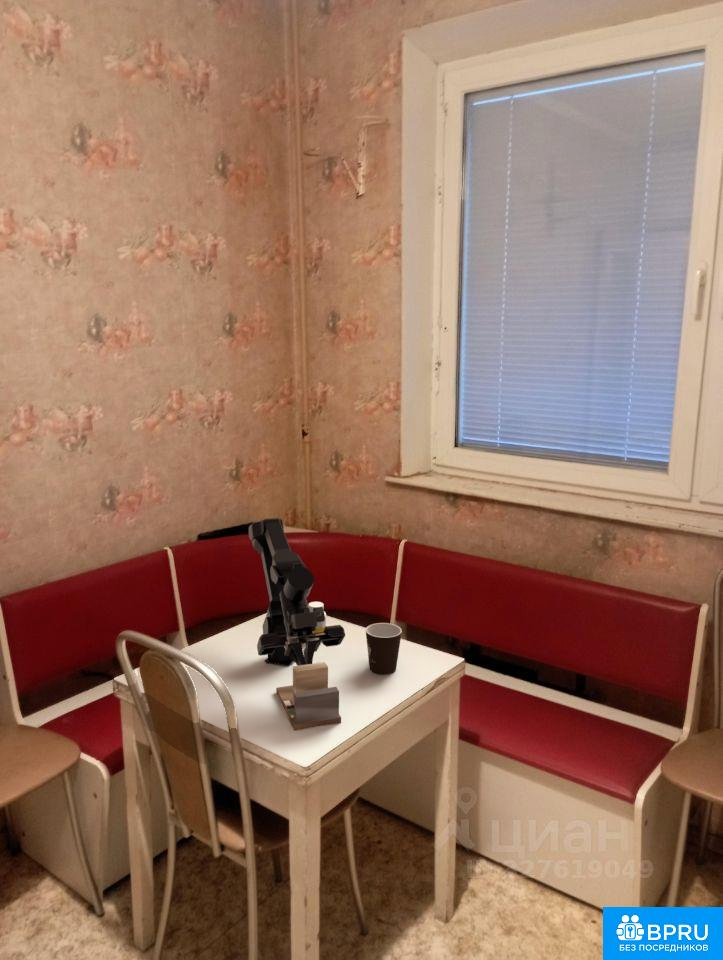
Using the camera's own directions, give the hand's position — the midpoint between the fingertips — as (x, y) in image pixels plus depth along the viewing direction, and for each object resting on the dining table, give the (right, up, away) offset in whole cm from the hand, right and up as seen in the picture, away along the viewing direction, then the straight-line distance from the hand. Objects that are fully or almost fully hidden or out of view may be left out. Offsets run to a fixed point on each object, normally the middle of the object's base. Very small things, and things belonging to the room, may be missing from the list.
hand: (308, 677), depth 153 cm
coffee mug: (+17, -3, +22) cm, 28 cm away
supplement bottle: (-1, 0, +37) cm, 37 cm away
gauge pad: (0, -6, -1) cm, 6 cm away
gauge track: (0, -7, +2) cm, 7 cm away
